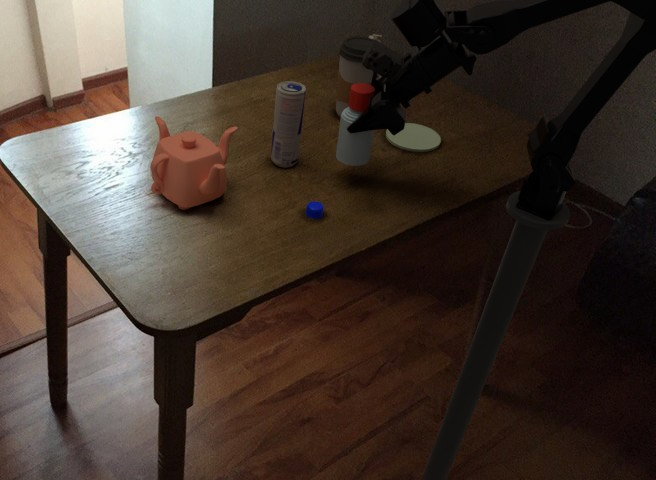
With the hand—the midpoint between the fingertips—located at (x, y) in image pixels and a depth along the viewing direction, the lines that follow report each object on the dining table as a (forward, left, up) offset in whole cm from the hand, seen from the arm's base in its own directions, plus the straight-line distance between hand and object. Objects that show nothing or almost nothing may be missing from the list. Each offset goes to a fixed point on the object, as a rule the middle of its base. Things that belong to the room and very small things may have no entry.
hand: (349, 122), depth 121 cm
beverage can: (+11, +3, -11) cm, 16 cm away
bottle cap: (-3, +13, -11) cm, 17 cm away
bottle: (-1, -1, -7) cm, 7 cm away
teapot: (+16, +22, -11) cm, 29 cm away
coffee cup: (+13, -23, -11) cm, 29 cm away
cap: (-1, -1, +3) cm, 3 cm away
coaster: (-2, -23, -11) cm, 26 cm away
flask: (+19, -40, -11) cm, 46 cm away
